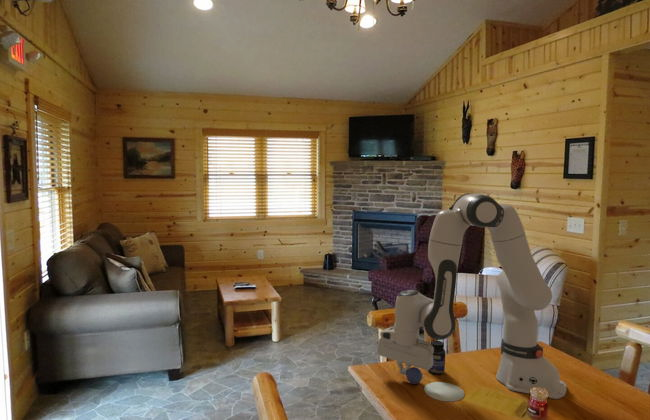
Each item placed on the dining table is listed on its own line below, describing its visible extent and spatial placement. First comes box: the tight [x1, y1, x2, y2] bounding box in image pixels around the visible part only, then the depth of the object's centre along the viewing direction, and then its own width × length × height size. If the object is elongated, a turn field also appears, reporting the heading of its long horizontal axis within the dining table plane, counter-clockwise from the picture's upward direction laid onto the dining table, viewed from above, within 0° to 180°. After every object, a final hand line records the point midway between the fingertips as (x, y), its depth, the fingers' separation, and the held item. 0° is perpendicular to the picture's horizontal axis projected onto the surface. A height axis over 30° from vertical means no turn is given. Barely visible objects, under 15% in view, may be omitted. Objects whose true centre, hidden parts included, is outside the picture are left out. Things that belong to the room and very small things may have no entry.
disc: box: [423, 381, 465, 403], centre depth 152 cm, size 13×13×1 cm
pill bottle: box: [427, 339, 446, 376], centre depth 167 cm, size 6×6×11 cm
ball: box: [405, 366, 423, 385], centre depth 158 cm, size 6×6×6 cm
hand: (403, 373), depth 160 cm, fingers closed
